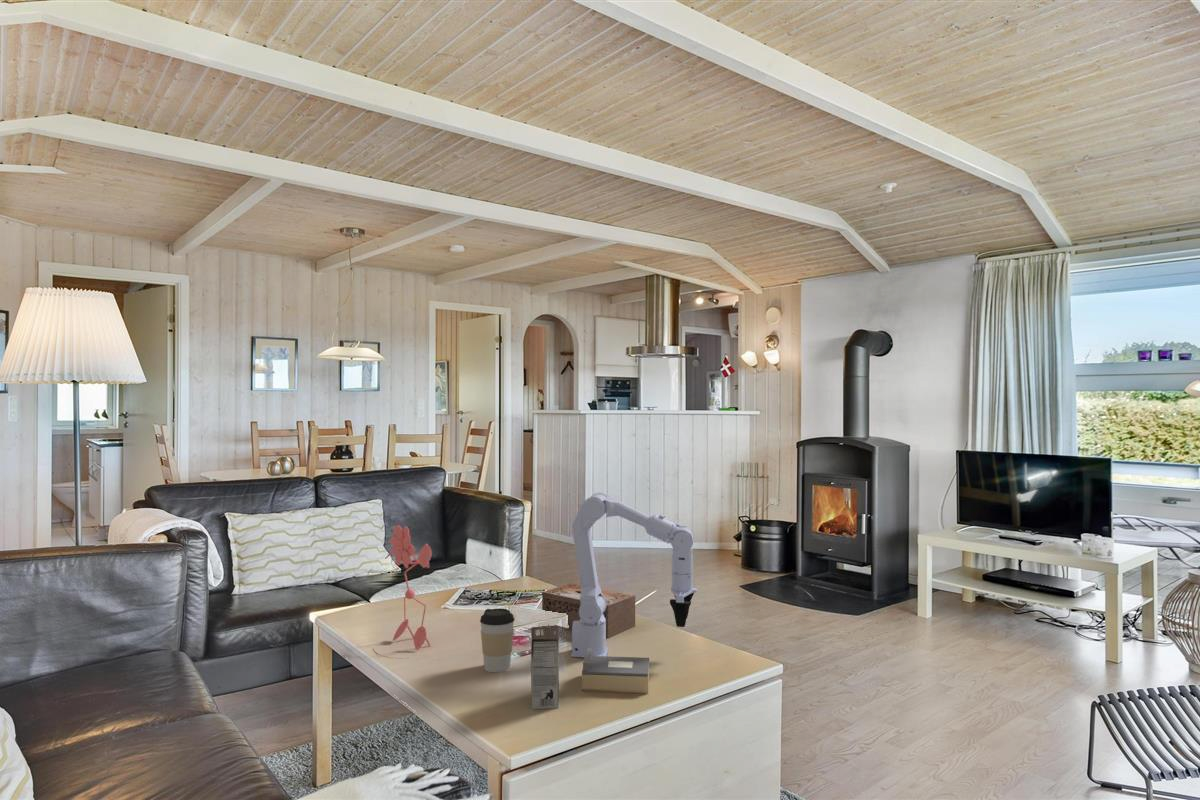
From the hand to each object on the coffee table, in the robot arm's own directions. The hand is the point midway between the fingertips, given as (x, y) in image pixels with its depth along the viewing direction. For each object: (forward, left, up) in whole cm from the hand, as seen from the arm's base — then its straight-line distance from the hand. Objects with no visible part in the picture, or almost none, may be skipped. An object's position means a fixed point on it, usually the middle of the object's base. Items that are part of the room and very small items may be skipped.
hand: (682, 622), depth 199 cm
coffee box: (-33, -31, -10) cm, 46 cm away
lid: (-17, -19, -6) cm, 26 cm away
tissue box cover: (-29, +28, -11) cm, 41 cm away
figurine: (-80, +2, -10) cm, 80 cm away
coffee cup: (-49, -11, -10) cm, 51 cm away
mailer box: (-17, -19, -10) cm, 27 cm away
